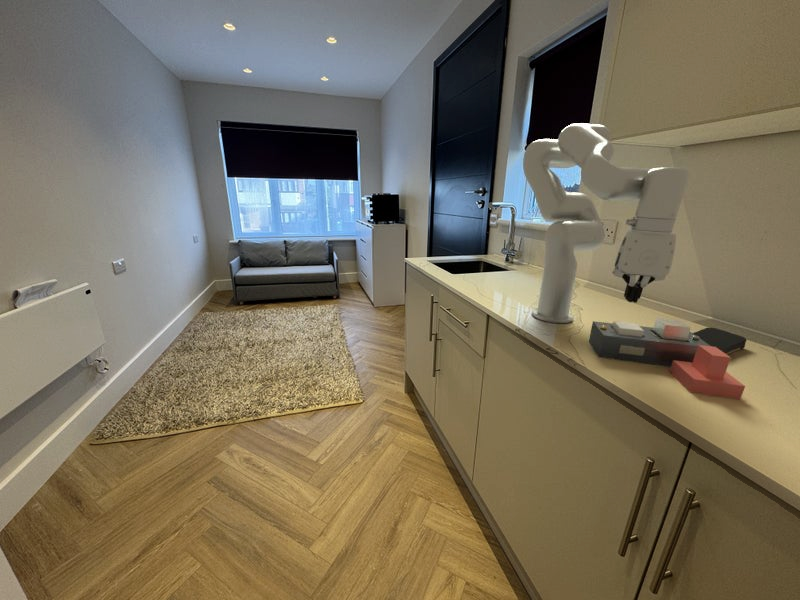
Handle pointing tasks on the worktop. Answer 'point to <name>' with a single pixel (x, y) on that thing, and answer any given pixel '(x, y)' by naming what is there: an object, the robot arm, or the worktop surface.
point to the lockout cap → (708, 374)
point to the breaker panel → (647, 343)
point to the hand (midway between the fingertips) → (630, 300)
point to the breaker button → (627, 329)
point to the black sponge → (722, 339)
